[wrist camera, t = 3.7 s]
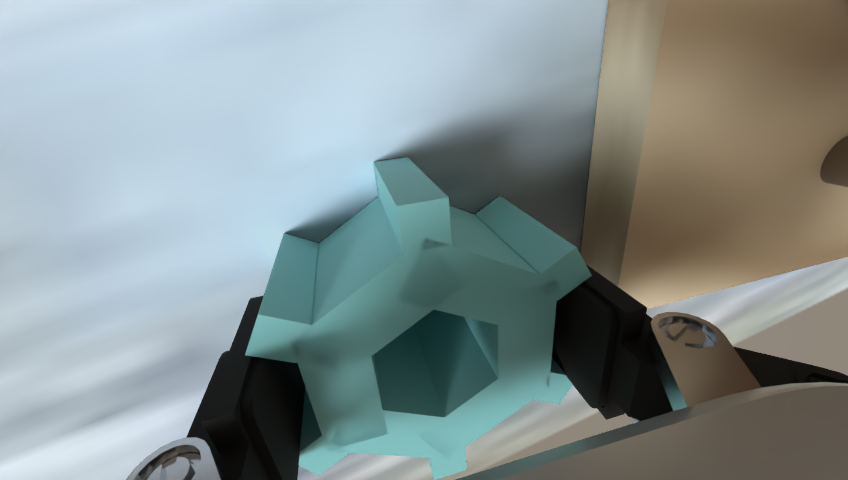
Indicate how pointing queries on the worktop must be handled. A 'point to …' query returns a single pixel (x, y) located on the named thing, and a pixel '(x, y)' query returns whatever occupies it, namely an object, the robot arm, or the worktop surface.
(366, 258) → the teal gear
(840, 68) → the gear board
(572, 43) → the worktop surface
